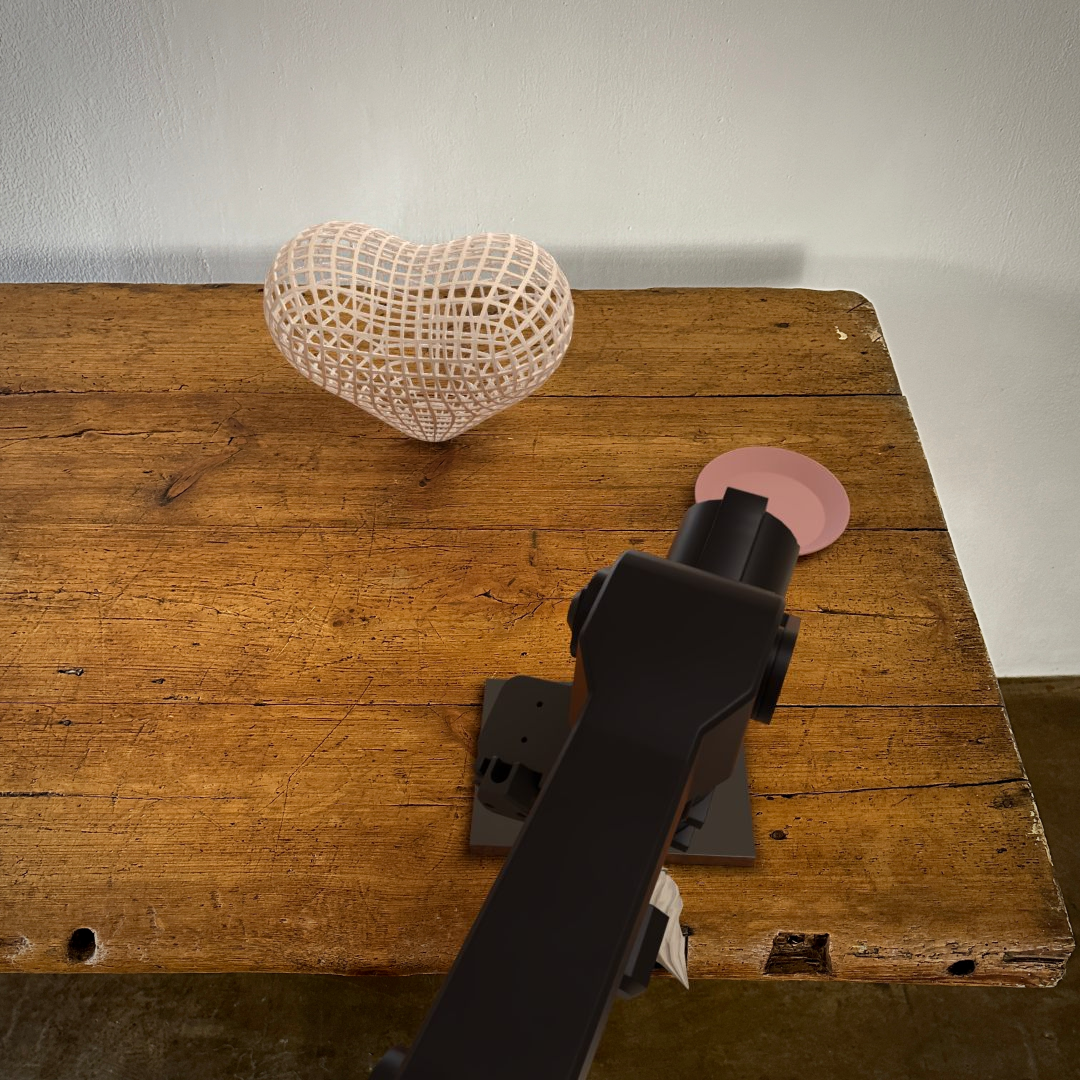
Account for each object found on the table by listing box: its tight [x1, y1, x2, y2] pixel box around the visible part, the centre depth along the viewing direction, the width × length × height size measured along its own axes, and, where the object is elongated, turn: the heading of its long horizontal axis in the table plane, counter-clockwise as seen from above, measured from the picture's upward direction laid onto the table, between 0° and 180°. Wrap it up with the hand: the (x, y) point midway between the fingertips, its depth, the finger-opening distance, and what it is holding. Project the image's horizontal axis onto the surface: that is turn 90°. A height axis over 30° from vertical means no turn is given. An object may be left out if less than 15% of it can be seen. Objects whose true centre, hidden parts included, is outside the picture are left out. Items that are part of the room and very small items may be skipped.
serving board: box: [468, 677, 757, 867], centre depth 73 cm, size 14×20×2 cm
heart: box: [262, 220, 575, 443], centre depth 91 cm, size 28×16×22 cm, turn 82°
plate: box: [694, 446, 851, 557], centre depth 91 cm, size 14×14×2 cm
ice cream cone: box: [649, 866, 690, 990], centre depth 65 cm, size 5×5×15 cm
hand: (625, 836), depth 57 cm, fingers open, 9 cm apart
